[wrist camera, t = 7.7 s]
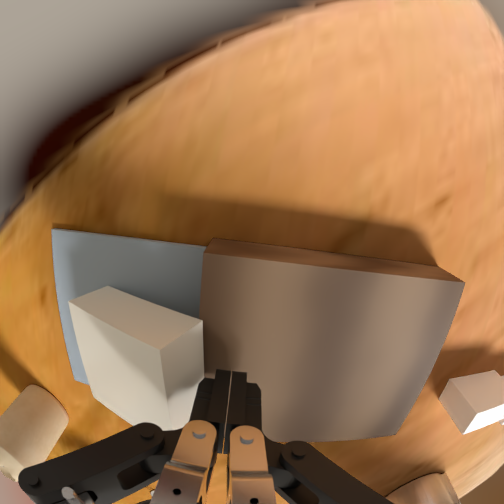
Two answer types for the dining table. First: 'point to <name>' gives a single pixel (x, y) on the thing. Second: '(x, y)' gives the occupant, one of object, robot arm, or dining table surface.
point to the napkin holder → (474, 400)
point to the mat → (123, 275)
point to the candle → (29, 430)
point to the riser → (324, 335)
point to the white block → (139, 356)
